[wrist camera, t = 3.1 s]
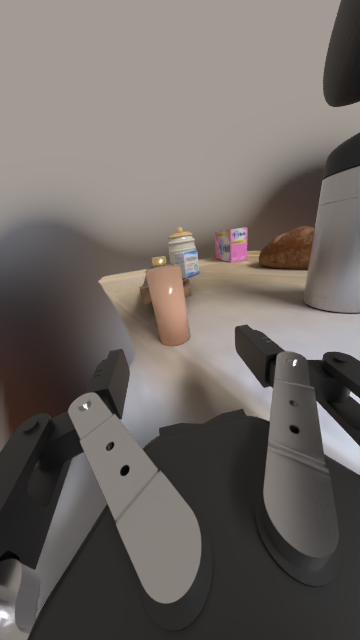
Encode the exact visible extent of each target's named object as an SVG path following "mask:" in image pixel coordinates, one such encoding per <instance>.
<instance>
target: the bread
mask: <svg viewBox="0 0 360 640" xmlns="http://www.w3.org/2000/svg"><path fill="white" fill-rule="evenodd" d="M314 231H315V227H314V228H312V227H309V226H302V227H299V228H295V229H294V230H292V231H290V232H289V233H284V234H281V235H279V236H278V237H276V238H274V239H273V240H272V241H270V242H269V243H268V244H267V245H266V246H265V247H264V248H263V249H262V251H261V253H260V256H259V263H260V264H261V265H262V266H267V267H272V268H281V269H308V267H309V261H310V255H311V249H312V243H313V237H314Z"/></svg>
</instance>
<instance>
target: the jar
mask: <svg viewBox="0 0 360 640" xmlns="http://www.w3.org/2000/svg"><path fill="white" fill-rule="evenodd" d="M192 235H193V234H192V233H190V232H183V230H182V228H181V227H179V228H177V233H176V234H171V236H170V237H169V239H170V241H169V242H168V245H169V254H170V261H171V264H174V265H176V263H175V256H174V254H177V253H182V252H186V251H190V250H196V247H195V244H194V241H195V239H194V238H193V237H192Z"/></svg>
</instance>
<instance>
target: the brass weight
mask: <svg viewBox="0 0 360 640" xmlns="http://www.w3.org/2000/svg"><path fill="white" fill-rule="evenodd" d="M152 262H153V267H154V268H156V267H162V266H167V264H166V258H165V256H161V257H155V258H152Z"/></svg>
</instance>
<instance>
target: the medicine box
mask: <svg viewBox="0 0 360 640" xmlns="http://www.w3.org/2000/svg"><path fill="white" fill-rule="evenodd" d="M174 256H175V263H176V265H180V266H181V273H182V277H183V278H186V279H187V278H190V277H192V276H194V275H197V274H199V266H198V256H197V250H190V251H186V252H182V253H177V254H174Z"/></svg>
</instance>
